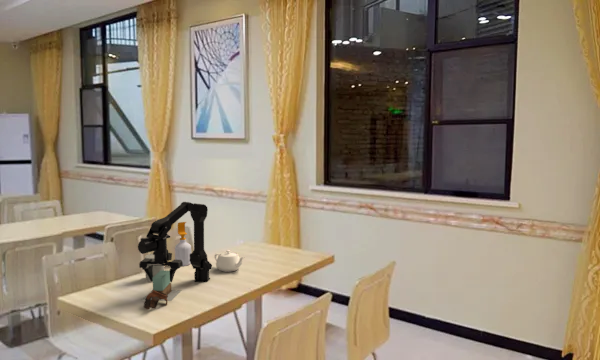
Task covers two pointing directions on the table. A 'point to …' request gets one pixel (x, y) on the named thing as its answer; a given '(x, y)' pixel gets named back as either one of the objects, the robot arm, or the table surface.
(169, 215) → the robot arm
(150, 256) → the speckled grey cylinder
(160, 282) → the lintel
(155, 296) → the brown curved piece
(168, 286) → the post
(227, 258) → the teapot
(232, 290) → the table surface
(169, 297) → the build mat
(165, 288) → the brown wooden block
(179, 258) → the soap bottle
